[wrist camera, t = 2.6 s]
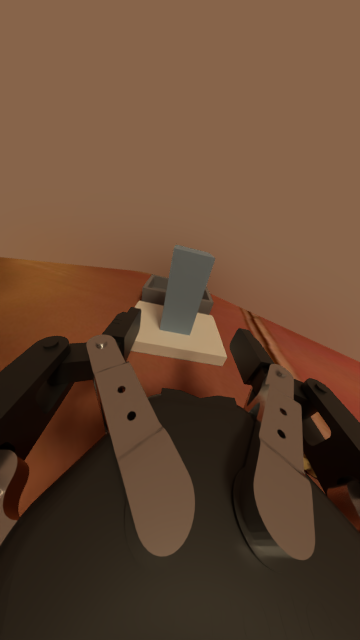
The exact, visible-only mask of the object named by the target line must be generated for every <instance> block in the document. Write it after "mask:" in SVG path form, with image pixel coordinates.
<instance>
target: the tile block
mask: <svg viewBox="0 0 360 640" xmlns="http://www.w3.org/2000/svg"><path fill="white" fill-rule="evenodd" d="M214 261H215V258H214V257H213V256H212V255H211V254H209V253H207V252H203V251H199V250H195V249H191V248H187V247H183V246H179V245H175V247H174V252H173V257H172V263H171V269H170V274H169V280H168V285H167V291H166V297H165V302H164V308H163V313H162V319H161V325H160V330H163V331H168V332H174V333H179V334H184V335H190V333H191V330H192V327H193V324H194V321H195V318H196V315H197V312H198V309H199V306H200V303H201V300H202V297H203V294H204V291H205V288H206V285H207V282H208V279H209V275H210V272H211V270H212V266H213V264H214Z"/></svg>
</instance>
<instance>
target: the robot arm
mask: <svg viewBox="0 0 360 640" xmlns="http://www.w3.org/2000/svg"><path fill="white" fill-rule="evenodd" d="M140 322H141V309H139V308H134V307H131V308H130V309H129V311H128V312H127V313H126V312H122V313H120V314H118V315H117V316H116V317H115V318H114V320H113V321H112V323H110V325H109V326H108V327H107V328H106V330H105V331H104V332H103V333H102V335H97V336H94V337H92V338H91V339H89V340H88V342H86V343H72V344H69V341H68V339H67V338H65V337H62V336H51V337H47V338H44V339H41V340H39V341H38V342H36V343H35V344H34V345H32V346H31V347H30V348H29V349H27V350H26V351H25V352H24V353H23V354H21V355H20V356H19V357H18V358H16V359H15V360H14V361H13V362H12V363H10V364H9V365H8V366H7V367H5V368H4V369H3V370H2V371H1V372H0V640H360V423H359V422H358V420H357V419H356V418H355V417H354V416H353V415H352V414H351V413H350V411H349V410H348V409H347V408H346V407H345V406H344V405H343V404H342V403H341V401H340V400H339V399H338V398H337V397H336V396H335V395H334V394H333V392H332V391H331V390H330V389H329V388H328V387H326V386H325V385H324V384H322V383H321V382H319V381H317V380H315V379H311V378H309V379H307V380H306V381H305V382H304V383H303V382H300V381H298V380H296V379H294V378H293V376H292V375H291V373H290V372H289V371H288V370H286V369H285V368H283V367H282V366H280V365H277V364H274V362H273V361H272V359H271V358H270V357H269V355H268V354H267V352H266V351H265V349H264V348H263V347H262V345H261V344H260V342H259V341H258V340H257V339H255V338H254V337H253V335H252V334H251V332H250V331H249V330H246V329H241V328H239V329H238V330H237V331H236V333H235V335H234V337H233V339H232V341H231V343H230V350H231V353H232V355H233V358H234V360H235V363H236V365H237V368H238V370H239V372H240V375H241V377H242V380H243V382H244V384H247V385H252V388H251V389H250V391H249V394H248V397H247V400H246V403H245V405H244V408H241V407H240V406H238V405H237V404H236V401H235V398H230V397H223V396H212V397H205V398H198V397H196V396H193V395H191V394H188V393H186V392H183V391H181V390H174V389H167V388H162V391H161V394H156V395H153V396H150V397H148V398H147V396H146V394H145V392H144V390H143V388H142V386H141V384H140V382H139V380H138V378H137V376H136V374H135V372H134V370H133V368H132V366H131V364H130V363H129V362H126V360H127V358H128V355H129V353H130V351H131V349H132V346H133V344H134V342H135V340H136V337H137V335H138V333H139V330H140ZM92 379H93V383H94V387H95V391H96V395H97V400H98V404H99V408H100V413H101V417H102V422H103V426H104V430H105V435H104V436H103V437H102V438H101V439H100V440H99V441H98V442H97V443H96V444H95V445H93V446H92V447H91V448H90V449H89V450H88V451H87V452H86V453H85V454H84V455H83V456H82V457H81V458H80V459H79V460H77V461H76V462H75V463H74V464H73V465H72V466H71V467H70V468H69V469H68V470H67V471H66V472H65V473H64V474H62V475H61V476H60V477H59V478H58V479H57V480H56V481H55V482H54V483H53V484H52V485H51V486H50V487H49V488H48V489H46V490H45V491H44V492H43V493H42V494H41V495H40V496H39V497H38V498H37V499H36V500H35V501H34V502H33V503H32V504H31V505H30V506H29V507H28V509H27V510H26V511H25V512H24V513H23V514H22V516H21V517H20V516H19V512H18V505H19V500H20V497H21V494H22V492H23V489H24V487H25V485H26V483H27V480H28V477H29V467H28V465H27V463H26V462H25V461H24V460H25V459H26V457H27V455H28V454H29V452H30V451H31V449H32V448H33V446H34V445H35V443H36V441H37V440H38V438H39V437H40V435H41V434H42V432H43V431H44V429H45V428H46V426H47V424H48V423H49V421H50V420H51V418H52V417H53V415H54V414H55V412H56V411H57V409H58V407H59V406H60V404H61V403H62V401H63V400H64V398H65V397H66V395H67V393H68V392H69V390H70V389H71V387H72V386H73V384H74V383H75V382H78V381H85V380H92ZM316 412H319V413H320V415H321V416H322V418H323V419H324V420H325V422H326V423H327V425H328V426H329V428H330V430H331V437H330V438H328V439H326V440H325V439H324V437H323V436H322V434H321V432H320V431H319V429H318V428H317V426H316V425H315V423H314V422H313V420H312V419H311V416H312V415H313V414H315V413H316ZM303 451H304V453H305V455H306V457H307V459H308V461H309V463H310V465H311V467H312V469H313V471H314V473H315V475H316V477H317V479H318V481H319V483H320V484H321V486H322V488H323V490H324V492H325V494H326V495H325V494H324V492H323V491H322V490H321V489H320V488H319V487H318V486H317V485H316V484H315V483H314V482H313V481H312V479H311V478H310V477H309V476H308V475H307V474H306V473H305V472H304V461H303Z"/></svg>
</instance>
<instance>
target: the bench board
mask: <svg viewBox="0 0 360 640" xmlns="http://www.w3.org/2000/svg"><path fill="white" fill-rule="evenodd" d="M135 308H139V309H141V322H140V330H139V333H138V335H137V337H136V340H135V342H134V344H133V346H132V349H131V351H135V352H141V353H147V354H153V355H159V356H165V357H171V358H177V359H183V360H189V361H195V362H200V363H206V364H212V365H218V366H222V365H223V364H224V362H225V360H226V358H227V355H226V352H225V350H224V347H223V344H222V341H221V338H220V335H219V333H218V330H217V327H216V324H215V321H214V318H213V316H211V315H206V314H202V313H197V315H196V318H195V321H194V324H193V327H192V330H191V333H190V335H184V334H179V333H174V332H168V331H163V330H160V325H161V319H162V313H163V308H164V306H163V305H158V304H153V303H148V302H143V301H139V302H138V303H137V305H136V306H135Z"/></svg>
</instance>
